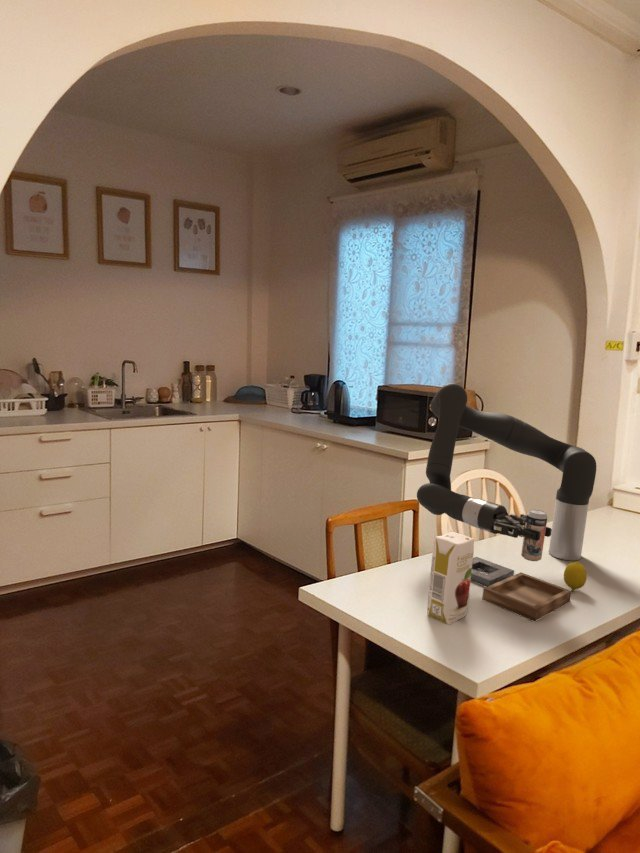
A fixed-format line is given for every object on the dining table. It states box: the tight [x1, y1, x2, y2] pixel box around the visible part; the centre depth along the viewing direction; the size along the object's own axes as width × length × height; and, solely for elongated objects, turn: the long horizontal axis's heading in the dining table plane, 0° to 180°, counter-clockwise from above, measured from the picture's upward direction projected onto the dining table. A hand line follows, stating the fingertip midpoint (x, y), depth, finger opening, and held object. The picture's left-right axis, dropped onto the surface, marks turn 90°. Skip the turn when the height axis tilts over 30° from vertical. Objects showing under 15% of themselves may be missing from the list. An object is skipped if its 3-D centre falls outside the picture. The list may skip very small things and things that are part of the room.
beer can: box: [521, 508, 548, 562], centre depth 153 cm, size 5×5×12 cm
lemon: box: [563, 560, 588, 591], centre depth 164 cm, size 6×6×8 cm
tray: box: [481, 572, 573, 622], centre depth 155 cm, size 18×14×3 cm
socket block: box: [470, 556, 515, 587], centre depth 170 cm, size 12×12×2 cm
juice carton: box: [426, 531, 475, 625], centre depth 143 cm, size 8×9×19 cm
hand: (544, 534), depth 151 cm, fingers closed on beer can, 4 cm apart
